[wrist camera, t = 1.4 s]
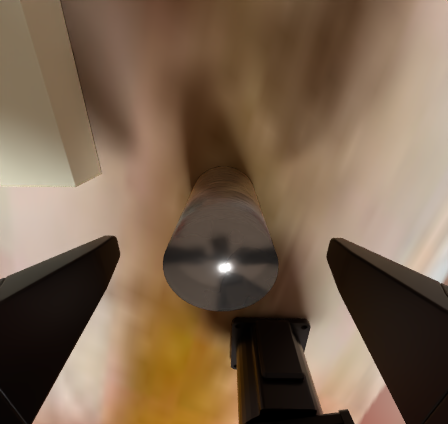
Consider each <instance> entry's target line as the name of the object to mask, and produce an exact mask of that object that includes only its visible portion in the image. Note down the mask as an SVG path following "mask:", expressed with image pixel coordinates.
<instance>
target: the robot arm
mask: <svg viewBox="0 0 448 424" xmlns="http://www.w3.org/2000/svg"><path fill="white" fill-rule="evenodd" d="M119 258H120V250H119V246H118V241H117V238H116V237H115V236H103V237H100V238H98V239H96V240H93V241H91V242H89V243H86V244H84V245H81V246H79V247H77V248H74V249H72V250H69V251H67V252H65V253H62V254H60V255H57V256H55V257H53V258H50V259H48V260H45V261H43V262H41V263H38V264H36V265H34V266H31V267H29V268H26V269H24V270H22V271H19V272H17V273H14V274H12V275H10V276H7V277H6V278H2V279H0V424H32V423H33V421H34V419H35V417H36V415H37V414H38V412H39V410H40V408H41V406H42V405H43V403H44V401H45V399H46V397H47V396H48V394H49V392H50V390H51V388H52V387H53V385H54V383H55V381H56V379H57V378H58V376H59V374H60V372H61V370H62V368H63V367H64V365H65V363H66V361H67V359H68V358H69V356H70V354H71V352H72V350H73V349H74V347H75V345H76V343H77V341H78V340H79V338H80V336H81V334H82V332H83V331H84V329H85V327H86V325H87V323H88V321H89V320H90V318H91V316H92V314H93V312H94V311H95V309H96V307H97V305H98V303H99V302H100V300H101V298H102V296H103V294H104V292H105V290H106V289H107V286H108V284H109V282H110V279H111V277H112V275H113V272H114V270H115V267H116V265H117V263H118V260H119ZM327 261H328V264H329V267H330V269H331V272H332V275H333V277H334V280H335V283H336V285H337V288H338V290H339V293H340V295H341V297H342V299H343V301H344V303H345V305H346V307H347V309H348V311H349V313H350V315H351V316H352V318H353V320H354V322H355V324H356V326H357V328H358V330H359V332H360V334H361V336H362V338H363V340H364V342H365V344H366V346H367V348H368V350H369V352H370V354H371V356H372V358H373V360H374V362H375V364H376V366H377V368H378V370H379V372H380V374H381V376H382V377H383V379H384V381H385V383H386V385H387V387H388V389H389V391H390V393H391V395H392V397H393V399H394V401H395V403H396V405H397V407H398V409H399V411H400V413H401V415H402V417H403V419H404V421H405V423H406V424H448V286H447V285H445V284H442V283H441V284H440V283H439V282H438V281H436V280H433V279H431V278H429V277H427V276H425V275H422V274H420V273H418V272H416V271H414V270H411V269H409V268H407V267H405V266H403V265H400V264H398V263H396V262H394V261H392V260H389V259H387V258H385V257H383V256H381V255H378V254H376V253H374V252H372V251H369V250H367V249H365V248H363V247H361V246H358V245H356V244H354V243H352V242H350V241H347V240H345V239H343V238H332V239H331V240H330V243H329V247H328V251H327ZM309 331H310V324H309V321H308V320H306V319H268V318H236V319H234V320H233V321H232V342H231V368H233V369H237V386H238V413H239V424H354V422H353V420H352V417H351V415H350V413H349V411H348V409H346V410H339V412H338V413H330V414H323V412H322V409H321V405H320V402H319V399H318V396H317V393H316V390H315V387H314V383H313V380H312V377H311V374H310V371H309V368H308V364H307V361H306V358H305V355H304V351H305V347H306V343H307V339H308V335H309Z"/></svg>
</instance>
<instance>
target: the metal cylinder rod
mask: <svg viewBox="0 0 448 424" xmlns="http://www.w3.org/2000/svg"><path fill="white" fill-rule="evenodd" d="M163 270H164V275H165V278H166V280H167V282H168V284H169V286H170V287H171V288H172V290H173V291H174V292H175V293H176V294H177V295H178V296H179V297H180V298H182V299H183V300H184V301H186V302H188V303H189V304H192V305H194V306H196V307H199V308H202V309H206V310H211V311H232V310H237V309H241V308H244V307H247V306H249V305H252V304H254V303H255V302H257V301H259V300H260V299H261V298H263V297H264V296H265V295H266V294H267V293H268V292H269V290H270V289H271V288H272V286H273V284H274V283H275V280H276V278H277V274H278V258H277V254H276V251H275V248H274V245H273V243H272V240H271V237H270V234H269V231H268V228H267V225H266V222H265V219H264V216H263V213H262V211H261V208H260V205H259V202H258V199H257V196H256V193H255V190H254V187H253V185H252V183H251V181H250V179H249V178H248V177H247V176H246V175H245V174H244V173H242V172H241V171H239V170H237V169H234V168H231V167H216V168H213V169H210V170H208V171H206V172H205V173H203V174H202V175H201V176H200V177H199V178H198V180H197V181H196V183H195V185H194V188H193V190H192V192H191V194H190V197H189V199H188V201H187V203H186V206H185V208H184V210H183V213H182V215H181V217H180V219H179V222H178V224H177V226H176V228H175V231H174V233H173V235H172V237H171V240H170V242H169V244H168V247H167V249H166V251H165V254H164V258H163Z"/></svg>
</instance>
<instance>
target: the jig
mask: <svg viewBox="0 0 448 424" xmlns="http://www.w3.org/2000/svg"><path fill="white" fill-rule="evenodd" d="M101 174H102V173H101V169H100V165H99V161H98V157H97V153H96V148H95V144H94V140H93V136H92V132H91V128H90V123H89V119H88V115H87V111H86V107H85V103H84V98H83V94H82V90H81V86H80V82H79V78H78V74H77V69H76V65H75V61H74V57H73V53H72V49H71V44H70V40H69V36H68V32H67V28H66V24H65V19H64V15H63V11H62V7H61V3H60V0H0V186H20V187H77V186H79V185H81V184H83V183H85V182H87V181H89V180H91V179H93V178H95V177H97V176H99V175H101Z"/></svg>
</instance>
